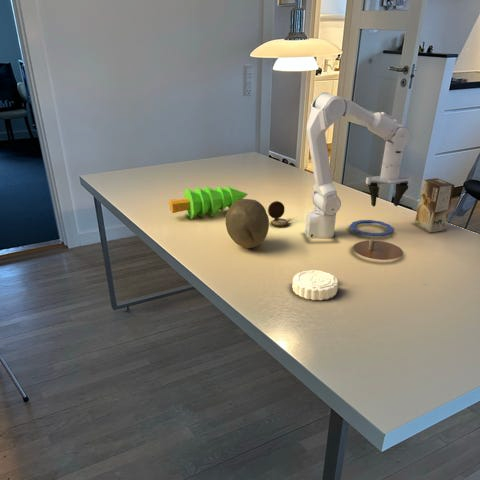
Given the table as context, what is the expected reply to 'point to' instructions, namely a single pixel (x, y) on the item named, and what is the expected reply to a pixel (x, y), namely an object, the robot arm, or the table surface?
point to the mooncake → (315, 285)
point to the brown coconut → (247, 223)
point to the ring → (368, 223)
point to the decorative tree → (206, 201)
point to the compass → (277, 214)
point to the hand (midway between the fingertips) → (384, 205)
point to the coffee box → (434, 204)
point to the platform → (377, 250)
